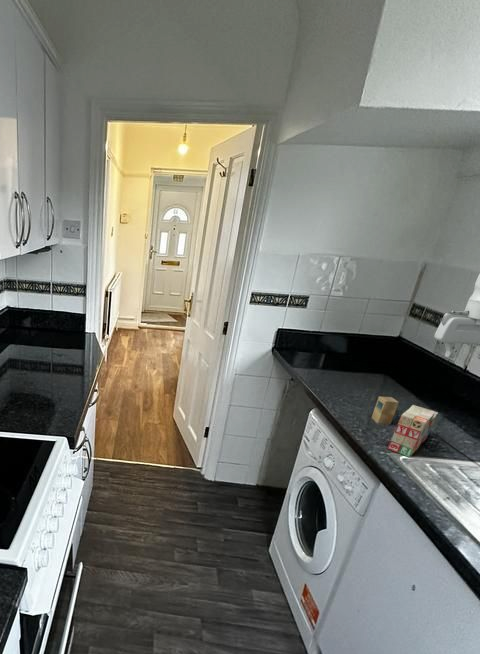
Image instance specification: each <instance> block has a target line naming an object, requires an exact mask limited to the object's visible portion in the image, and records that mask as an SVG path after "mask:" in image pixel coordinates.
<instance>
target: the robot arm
mask: <svg viewBox="0 0 480 654" xmlns="http://www.w3.org/2000/svg"><path fill="white" fill-rule="evenodd" d="M433 336H434V339H435V340H436V341H438V342H441V343H444V347H445V353H444V357H446V358H454V357H455V354H456V351H454V349H453V347H455V345H456V344H464V345H465V344H466V345H480V273H478V276H477V277H476V280H475V283H474V290H473V293H472V294H471V296H470V297H469V298H468V299H467V302H466V305H465V308H464V310H457V309H456V310H455V309H453V310H450V311H448V312H447V313H446V312H445V314H444V315H443V317H442V319H441V322H440V324H439V325H438V327H437V329H436V331H435V333H434V335H433ZM476 357H477V359H479V360H480V352H478V355H477V356H476Z"/></svg>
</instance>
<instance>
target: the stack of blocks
mask: <svg viewBox="0 0 480 654" xmlns="http://www.w3.org/2000/svg"><path fill="white" fill-rule="evenodd" d="M438 414H439V412H438V411H434V410H432V409H428V408H426V407H425V408H424V407H422V406H417V405H415V404H412V405H411V406H410V407H409V408H408V409H406V410H405V411H404V412H403V413H402V414H401V416H400V418H399V420H398V422H397V425H396V426H395V430H394V432H393V435H392V437H391V439H390V441H389V443H388V446H387V447H386V449H387V450H389V451H392V452H394V453H397V454H400V455H402V456H405V457H408V458H411V457H412V455H413V454H414V453H415V452H416V451H417V450H418V449H419V448H420V446H421V445H422V444H423V443H424V442H425V440H426V439H427V438H428V437H429V434H430V432H431V430H432V428H433V426H434V424H435V422H436V418H437V417H438Z"/></svg>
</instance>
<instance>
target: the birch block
mask: <svg viewBox="0 0 480 654" xmlns="http://www.w3.org/2000/svg"><path fill="white" fill-rule="evenodd" d="M399 404H400V402H399V401H398V400H396V399H395V398H393V397H392V396H382V395H381V396H378V398H377V400H376V404H375V406H374V409H373V412H372V415H371V417H370V418H371V419H372V420H373V421H374V422H375V423H376V424H379V425H388V426H391V425H392V421H393V419H394V416H395V414H396V411H397V408H398V406H399Z"/></svg>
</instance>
